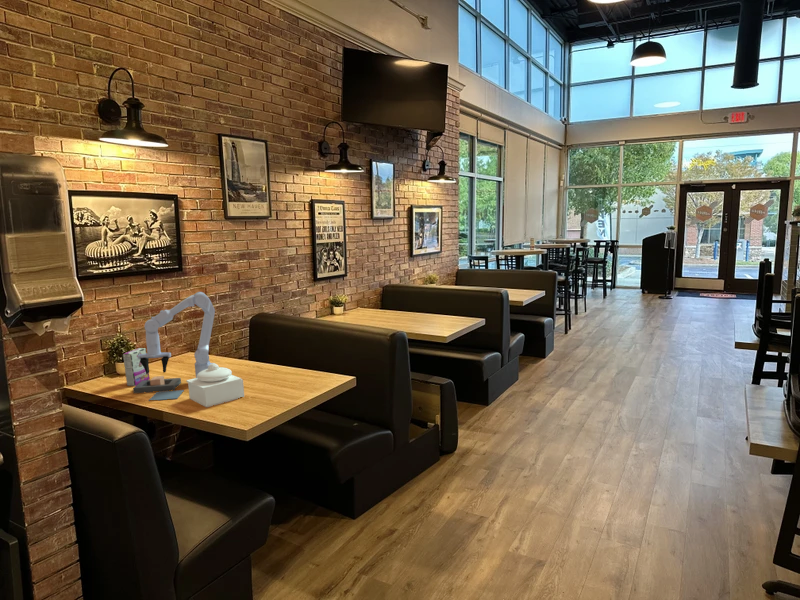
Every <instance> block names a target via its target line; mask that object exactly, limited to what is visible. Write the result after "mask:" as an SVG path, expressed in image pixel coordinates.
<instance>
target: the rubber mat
mask: <svg viewBox="0 0 800 600" xmlns="http://www.w3.org/2000/svg"><path fill="white" fill-rule="evenodd" d="M184 391H185V390H184V389H180V390H178V389H177V390H176V389H175V390H173V391H159V392H155V393H154V394H153V395H152V397H150V398H149V399H148V402H151V401H150V400H158V401H168V400H167V399H171V400H178V399H179V398H180V396H181V395H182V394H183V393H184ZM182 392H183V393H182Z"/></svg>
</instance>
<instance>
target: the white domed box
mask: <svg viewBox="0 0 800 600" xmlns="http://www.w3.org/2000/svg"><path fill="white" fill-rule="evenodd" d="M212 363H213V364H210V365H209V366H208V369H205V370H203V371H201V372H199V373H198V374H197V376H196V375H195V378H191V379H186V383H187V385H188V387H187V388H188V394H189V395H188V396H189V400H191V401H192V402H194V403H197V404H199V405H201V406H203V407H205V408H210V407H213V405H214V406H217V405H220V404H224V402H225V403H228V402H232V401H236V400H239V399H241V398H240V397H243V398H245V387H244V379H242V377H239V376H236V375H233V374H232V373H233V371H232V370H231V369H230V368H227V367H223V366H219V364H217V363H215V362H212ZM214 363H215V364H214ZM196 377H197V378H196ZM238 398H239V399H238Z"/></svg>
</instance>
